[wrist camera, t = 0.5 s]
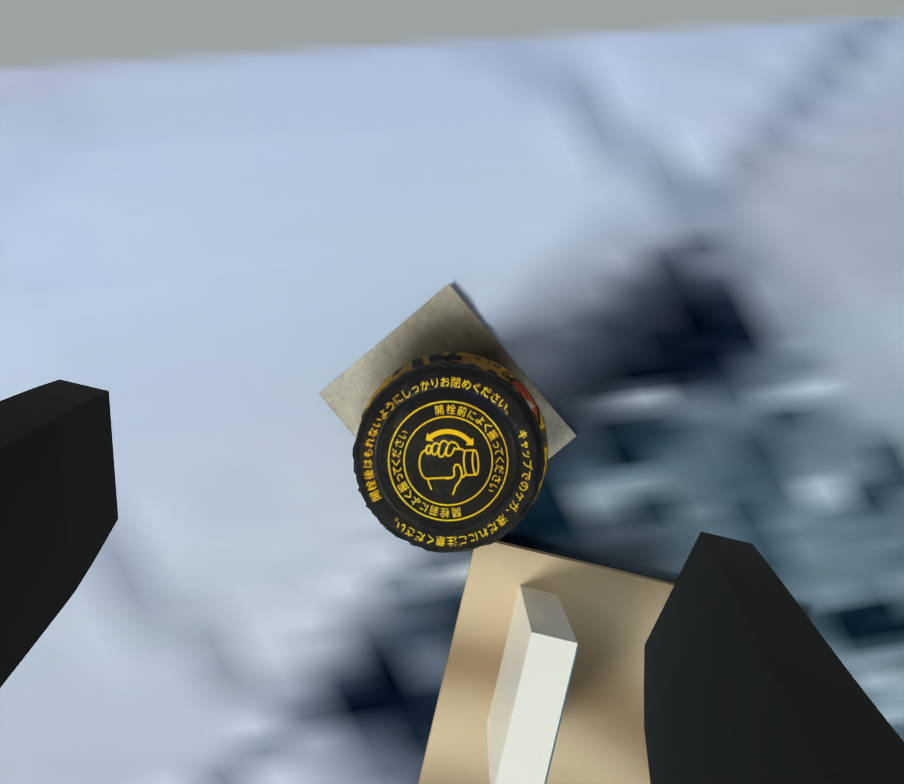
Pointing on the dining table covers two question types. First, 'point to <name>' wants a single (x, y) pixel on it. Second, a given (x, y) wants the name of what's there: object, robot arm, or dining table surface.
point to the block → (530, 690)
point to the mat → (593, 679)
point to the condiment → (446, 430)
